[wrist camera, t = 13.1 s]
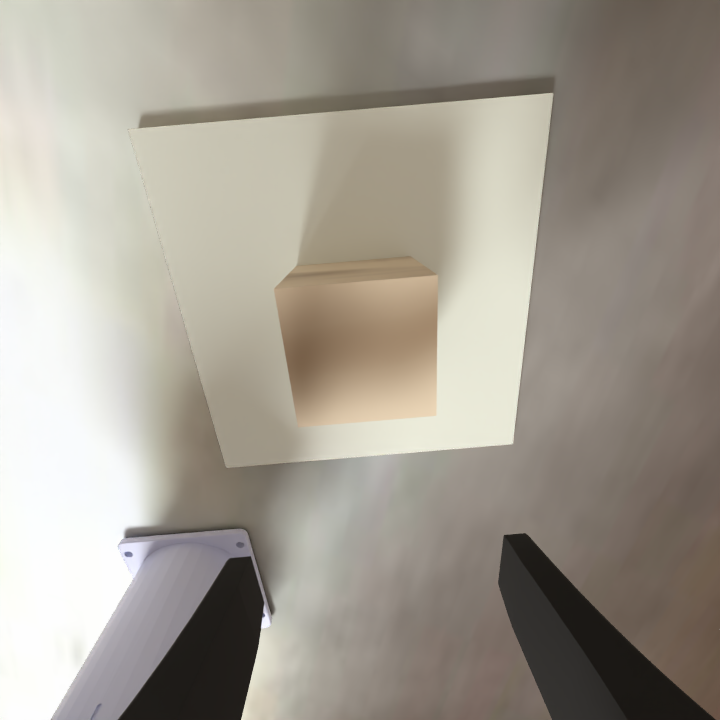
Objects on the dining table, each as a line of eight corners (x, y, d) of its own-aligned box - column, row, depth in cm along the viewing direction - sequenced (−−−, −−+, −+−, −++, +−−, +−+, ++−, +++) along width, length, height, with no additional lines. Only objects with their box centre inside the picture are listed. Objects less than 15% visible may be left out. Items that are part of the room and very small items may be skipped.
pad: (508, 437, 20) (512, 444, 19) (229, 460, 20) (226, 468, 19) (545, 97, 13) (553, 92, 13) (136, 132, 14) (127, 129, 13)
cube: (412, 361, 17) (436, 415, 12) (311, 369, 17) (298, 427, 12) (410, 256, 15) (438, 274, 10) (296, 265, 15) (273, 288, 10)
